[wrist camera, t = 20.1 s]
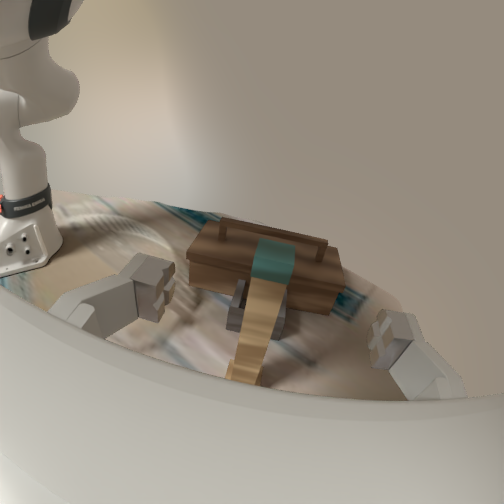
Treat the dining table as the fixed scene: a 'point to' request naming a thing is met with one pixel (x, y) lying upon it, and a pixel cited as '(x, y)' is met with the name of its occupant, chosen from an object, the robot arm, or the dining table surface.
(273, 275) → the wooden key
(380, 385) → the dining table surface
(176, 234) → the dining table surface
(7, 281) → the dining table surface
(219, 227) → the toolbox
